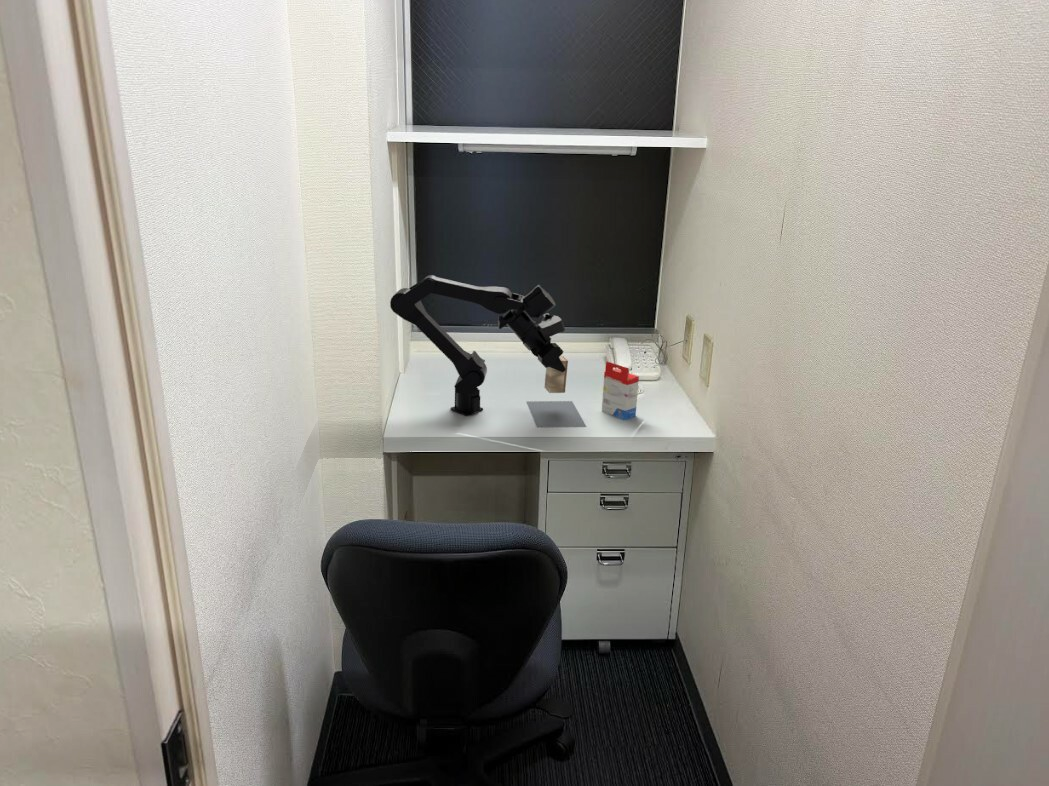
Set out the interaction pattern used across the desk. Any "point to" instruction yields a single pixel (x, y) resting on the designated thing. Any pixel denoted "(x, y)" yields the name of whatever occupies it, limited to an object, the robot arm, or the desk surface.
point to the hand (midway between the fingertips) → (561, 368)
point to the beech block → (556, 378)
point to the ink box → (619, 391)
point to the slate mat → (555, 414)
